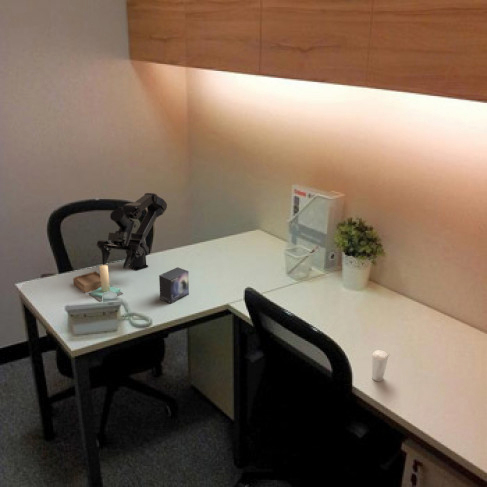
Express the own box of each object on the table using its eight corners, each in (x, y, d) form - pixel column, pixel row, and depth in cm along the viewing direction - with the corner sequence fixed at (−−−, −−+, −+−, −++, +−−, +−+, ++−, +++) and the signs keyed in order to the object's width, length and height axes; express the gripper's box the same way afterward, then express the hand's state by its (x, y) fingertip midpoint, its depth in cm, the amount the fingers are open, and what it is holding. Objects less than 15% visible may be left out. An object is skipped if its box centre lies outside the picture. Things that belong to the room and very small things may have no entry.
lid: (104, 287, 220) (102, 261, 216) (120, 291, 217) (118, 264, 213) (91, 295, 214) (88, 268, 209) (107, 299, 210) (105, 272, 206)
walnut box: (96, 278, 229) (95, 271, 228) (107, 286, 222) (107, 278, 221) (73, 285, 223) (72, 277, 222) (85, 293, 216) (84, 285, 215)
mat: (111, 286, 222) (111, 285, 222) (123, 294, 215) (123, 293, 215) (89, 293, 216) (89, 292, 215) (100, 301, 209) (100, 300, 209)
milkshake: (380, 386, 160) (383, 357, 157) (366, 377, 165) (369, 348, 161) (390, 380, 163) (394, 352, 159) (376, 372, 167) (380, 344, 163)
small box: (171, 304, 208) (170, 279, 204) (159, 299, 211) (157, 275, 208) (190, 294, 216) (189, 270, 212) (178, 290, 219) (177, 266, 215)
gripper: (96, 221, 220) (84, 256, 214) (138, 226, 215) (126, 262, 210) (107, 233, 230) (96, 267, 224) (148, 237, 225) (137, 272, 220)
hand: (113, 266), depth 219 cm, fingers open, 9 cm apart
